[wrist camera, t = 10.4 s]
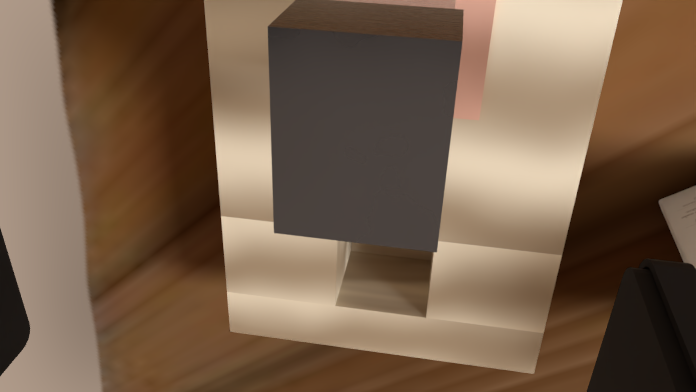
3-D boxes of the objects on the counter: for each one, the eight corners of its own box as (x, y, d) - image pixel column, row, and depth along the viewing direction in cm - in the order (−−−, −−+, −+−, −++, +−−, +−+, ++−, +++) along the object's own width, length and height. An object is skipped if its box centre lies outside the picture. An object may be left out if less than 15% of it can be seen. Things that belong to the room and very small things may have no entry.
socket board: (243, -132, 29) (191, -124, 23) (613, -115, 27) (648, -103, 21) (261, 267, 40) (229, 334, 34) (525, 300, 38) (534, 376, 32)
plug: (346, -48, 24) (267, 26, 15) (465, -41, 23) (462, 41, 14) (341, 94, 27) (273, 233, 17) (448, 104, 26) (436, 252, 17)
